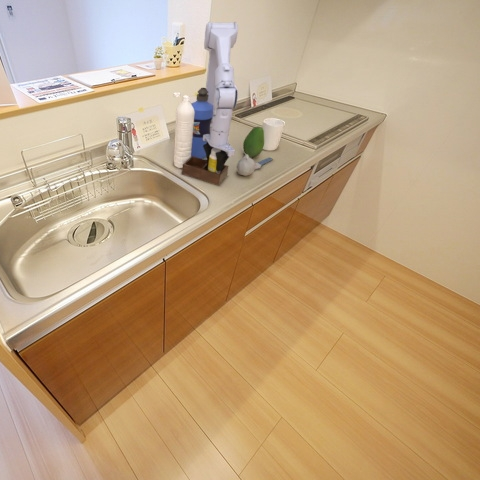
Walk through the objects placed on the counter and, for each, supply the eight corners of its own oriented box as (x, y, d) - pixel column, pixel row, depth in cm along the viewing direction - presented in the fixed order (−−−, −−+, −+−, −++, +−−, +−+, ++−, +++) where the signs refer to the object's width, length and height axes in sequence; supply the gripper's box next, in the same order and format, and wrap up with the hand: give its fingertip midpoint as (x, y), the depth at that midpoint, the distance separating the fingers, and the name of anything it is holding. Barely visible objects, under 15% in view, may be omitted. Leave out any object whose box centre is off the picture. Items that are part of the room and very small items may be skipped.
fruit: (237, 156, 113) (243, 127, 105) (245, 150, 117) (252, 121, 109) (255, 162, 109) (263, 132, 101) (263, 155, 114) (271, 126, 106)
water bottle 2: (195, 146, 119) (202, 82, 102) (212, 153, 115) (221, 88, 97) (180, 153, 115) (184, 88, 97) (197, 161, 110) (204, 94, 92)
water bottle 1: (193, 164, 108) (200, 96, 91) (182, 170, 105) (186, 100, 88) (177, 157, 113) (180, 90, 95) (166, 162, 109) (167, 94, 92)
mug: (285, 145, 121) (293, 120, 114) (269, 153, 115) (277, 127, 108) (268, 138, 126) (275, 114, 118) (253, 146, 120) (259, 121, 113)
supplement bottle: (216, 176, 97) (219, 154, 91) (204, 172, 99) (207, 150, 93) (223, 171, 100) (226, 149, 94) (212, 167, 102) (215, 145, 96)
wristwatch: (234, 172, 104) (234, 170, 103) (266, 157, 112) (267, 155, 112) (243, 177, 101) (243, 174, 100) (275, 161, 110) (276, 159, 109)
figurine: (257, 177, 101) (263, 157, 95) (240, 179, 99) (245, 159, 94) (248, 168, 105) (253, 149, 100) (232, 171, 104) (236, 151, 98)
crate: (182, 174, 103) (182, 164, 100) (191, 165, 108) (192, 155, 105) (218, 185, 97) (220, 175, 94) (226, 175, 102) (228, 165, 99)
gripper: (245, 134, 86) (236, 173, 95) (216, 119, 95) (211, 156, 104) (227, 139, 83) (220, 178, 92) (199, 123, 92) (196, 160, 101)
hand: (214, 166), depth 98 cm, fingers closed on supplement bottle, 5 cm apart
